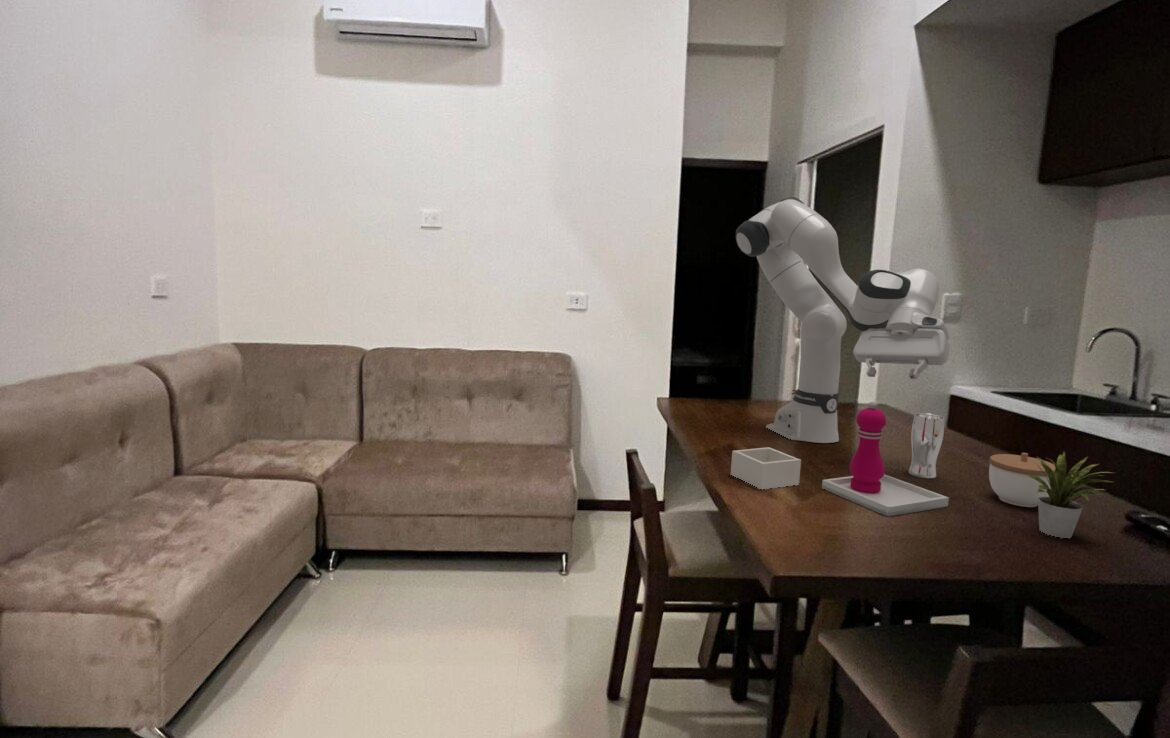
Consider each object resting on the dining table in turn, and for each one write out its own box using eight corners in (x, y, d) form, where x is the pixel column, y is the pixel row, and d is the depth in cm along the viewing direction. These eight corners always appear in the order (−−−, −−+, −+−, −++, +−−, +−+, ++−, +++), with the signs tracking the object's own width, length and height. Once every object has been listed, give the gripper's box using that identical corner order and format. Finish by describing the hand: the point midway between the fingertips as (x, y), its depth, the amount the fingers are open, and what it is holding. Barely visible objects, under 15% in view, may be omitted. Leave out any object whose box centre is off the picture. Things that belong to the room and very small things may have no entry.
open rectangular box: (730, 475, 154) (732, 450, 153) (767, 470, 159) (769, 447, 158) (760, 490, 144) (763, 464, 143) (798, 485, 149) (801, 459, 148)
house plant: (1070, 555, 116) (1084, 467, 113) (994, 526, 128) (1006, 446, 126) (1116, 544, 122) (1131, 460, 119) (1040, 517, 134) (1052, 441, 132)
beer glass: (906, 475, 160) (913, 416, 157) (907, 468, 166) (913, 411, 163) (938, 481, 156) (945, 420, 154) (937, 473, 162) (945, 415, 160)
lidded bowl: (972, 495, 147) (978, 447, 145) (1008, 489, 152) (1015, 444, 150) (1028, 514, 136) (1036, 463, 134) (1065, 508, 141) (1073, 459, 139)
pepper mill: (856, 480, 151) (863, 396, 147) (888, 488, 145) (896, 401, 142) (842, 488, 146) (849, 401, 142) (875, 496, 140) (882, 407, 137)
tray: (821, 488, 147) (822, 479, 147) (878, 480, 155) (879, 472, 154) (887, 516, 131) (888, 507, 131) (947, 506, 139) (948, 497, 138)
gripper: (858, 320, 159) (842, 366, 153) (950, 319, 144) (935, 370, 139) (866, 336, 162) (850, 381, 157) (957, 337, 148) (942, 387, 142)
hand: (891, 376), depth 148 cm, fingers open, 8 cm apart
